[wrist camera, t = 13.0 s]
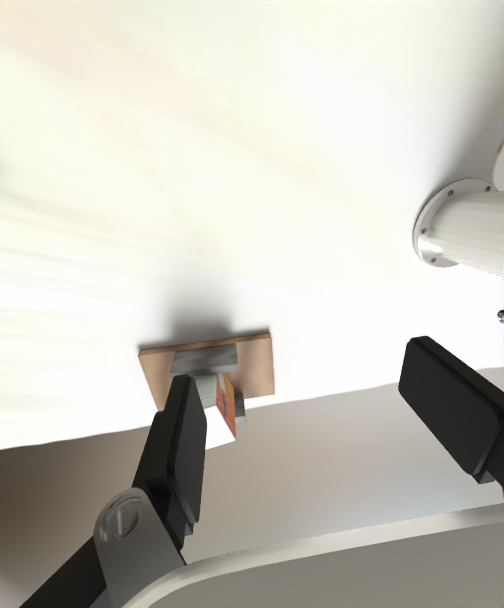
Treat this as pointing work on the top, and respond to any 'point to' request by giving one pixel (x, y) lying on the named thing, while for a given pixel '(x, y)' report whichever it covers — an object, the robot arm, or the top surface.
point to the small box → (217, 407)
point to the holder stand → (214, 367)
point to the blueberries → (501, 316)
